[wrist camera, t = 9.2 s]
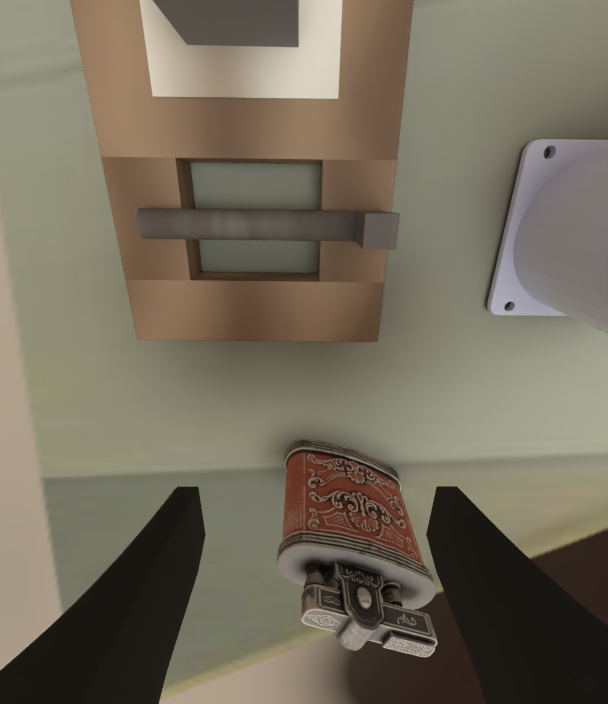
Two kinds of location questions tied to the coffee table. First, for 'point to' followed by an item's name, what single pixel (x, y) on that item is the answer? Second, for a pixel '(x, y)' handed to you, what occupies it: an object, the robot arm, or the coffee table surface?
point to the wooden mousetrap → (250, 147)
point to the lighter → (354, 549)
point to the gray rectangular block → (234, 22)
